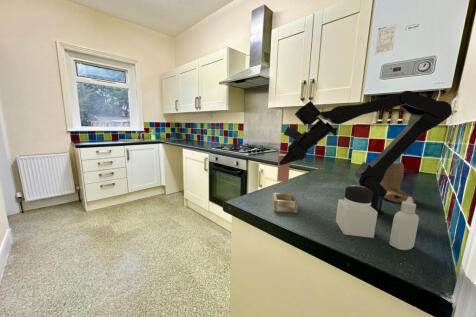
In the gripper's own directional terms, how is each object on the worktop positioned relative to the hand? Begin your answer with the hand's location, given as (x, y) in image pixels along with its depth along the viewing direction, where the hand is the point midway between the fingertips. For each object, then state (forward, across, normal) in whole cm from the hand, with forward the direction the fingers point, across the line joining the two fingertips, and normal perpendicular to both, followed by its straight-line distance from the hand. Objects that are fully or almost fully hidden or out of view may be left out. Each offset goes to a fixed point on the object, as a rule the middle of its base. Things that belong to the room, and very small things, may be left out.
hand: (280, 163), depth 72 cm
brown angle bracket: (-21, -18, +40) cm, 49 cm away
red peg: (+4, 0, +6) cm, 7 cm away
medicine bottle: (-6, +17, +25) cm, 31 cm away
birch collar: (+7, +9, +12) cm, 17 cm away
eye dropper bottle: (-12, +21, +32) cm, 40 cm away
